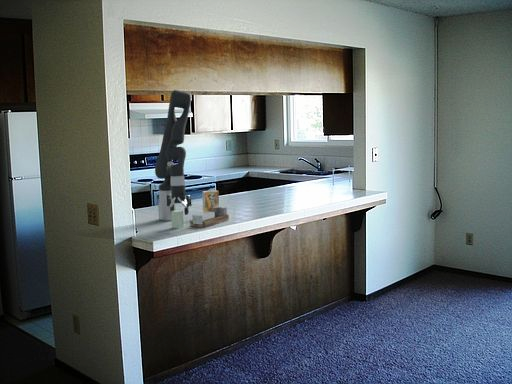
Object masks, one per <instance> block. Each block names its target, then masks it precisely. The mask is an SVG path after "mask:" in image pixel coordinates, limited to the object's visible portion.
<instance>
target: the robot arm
mask: <svg viewBox="0 0 512 384" xmlns="http://www.w3.org/2000/svg"><path fill="white" fill-rule="evenodd" d="M173 90H174V91H173ZM173 90H172V91H173V92H172V91H171V94H170V98H169V102H168V103H169V105H168V110H167V118H166V122H165V126H164V129H163V136H162V140H161V146H160V150H159V154H158V157H157V161H156V163H155V167H154V168H155V169H154V174H155V176H156V177H157V178H158V179H161V180H162V179H163V182H161V184H159V186H158V193H159V194H158V195H159V198H158V199H159V203H158V219H159V220H160V221H165V222H166V221H172V217H171V211H174V210H177V204H181V205H182V206H183V207H184V208H183V209H184V210H183V213H184V215H185V216H187V215H189V211H190V210H189V208H190V207H192V197H191V195H190V194H188V195H186V181H185V172H184V171H185V170H184V167H185V166H184V165H185V161H186V157H187V151H186V148H185V147H184V146H179V145H182V144H184V141H185V136H186V135H185V134H186V133H185V132H186V126H187V122H188V117H189V113H190V110H191V109H190V108H191V105H192V104H191V103H192V94H191V92H188V91H184V90H178V89H173ZM175 108H178V109H183V111H182V113H181V115H180V116H179V118H177V117H176V111H175ZM173 161H177V163H176V164H175V163H174V162H173Z"/></svg>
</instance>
